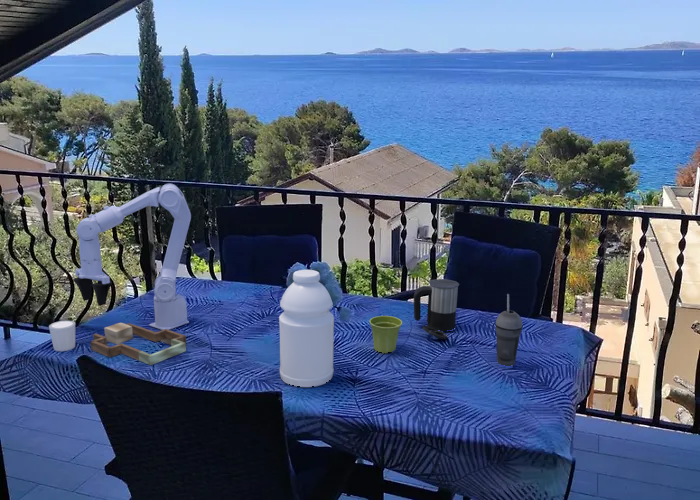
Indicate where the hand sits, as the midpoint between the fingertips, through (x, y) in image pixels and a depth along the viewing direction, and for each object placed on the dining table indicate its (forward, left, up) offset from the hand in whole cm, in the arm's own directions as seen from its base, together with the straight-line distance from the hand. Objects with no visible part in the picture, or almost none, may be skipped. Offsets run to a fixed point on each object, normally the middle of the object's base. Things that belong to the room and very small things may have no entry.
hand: (94, 302), depth 189 cm
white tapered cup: (+13, +4, -9) cm, 17 cm away
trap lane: (0, +20, -9) cm, 22 cm away
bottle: (-14, +71, -9) cm, 73 cm away
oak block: (0, +11, -9) cm, 14 cm away
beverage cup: (-52, +110, -9) cm, 122 cm away
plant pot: (-41, +78, -9) cm, 89 cm away
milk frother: (-63, +84, -10) cm, 105 cm away
